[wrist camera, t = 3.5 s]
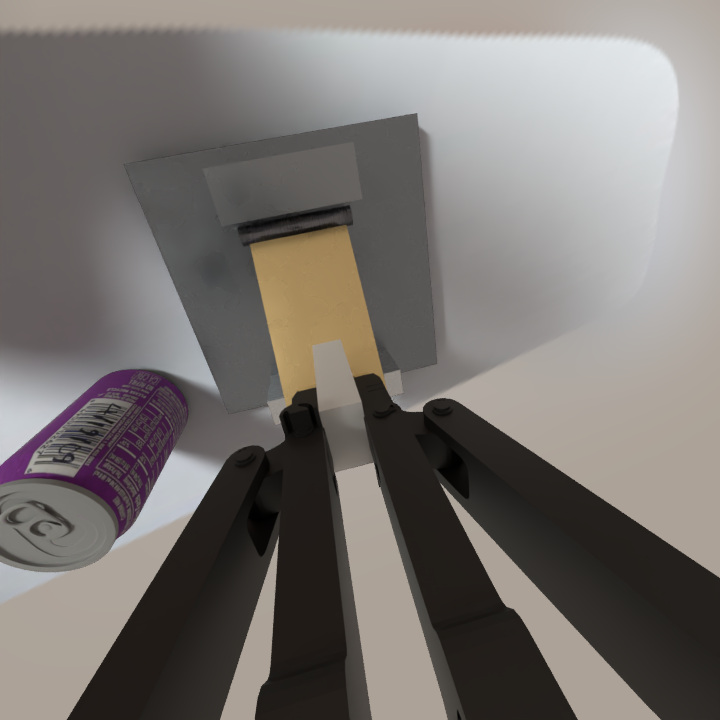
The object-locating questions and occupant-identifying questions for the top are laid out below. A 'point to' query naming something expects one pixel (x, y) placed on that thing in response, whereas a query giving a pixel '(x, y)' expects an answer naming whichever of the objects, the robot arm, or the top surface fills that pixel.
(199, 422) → the top surface
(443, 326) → the top surface
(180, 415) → the beverage can
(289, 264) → the tan flat panel
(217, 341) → the clamp base
